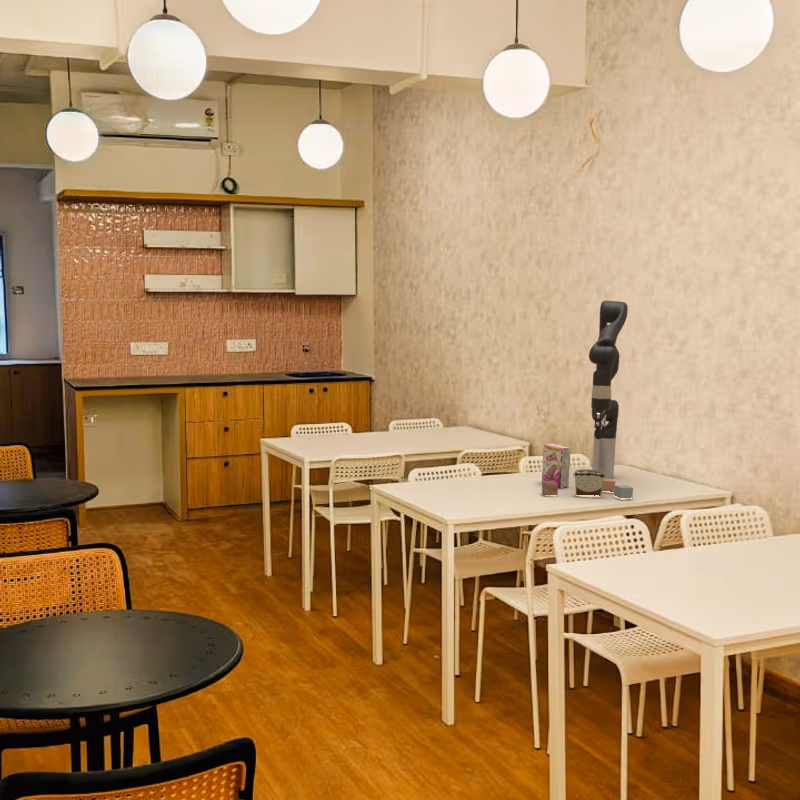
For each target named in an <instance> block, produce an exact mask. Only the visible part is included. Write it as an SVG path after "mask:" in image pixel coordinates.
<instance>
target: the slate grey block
mask: <svg viewBox="0 0 800 800" xmlns="http://www.w3.org/2000/svg"><path fill="white" fill-rule="evenodd" d="M633 493H634V487H632V486H630V485H628V484H617V485H616V484H615V491H614V495H615V496H617V497H619V498H631V497H632V498H633V496H634V495H633ZM614 495H613V496H614Z"/></svg>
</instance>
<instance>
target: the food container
mask: <svg viewBox="0 0 800 800" xmlns="http://www.w3.org/2000/svg"><path fill="white" fill-rule="evenodd" d="M572 476H573V477H574V480H575V484H574V485H575V487H574V488H575V496H576V495H594V496H595V495H599V496H601V497H602V493H601V492H602V486H603V480H604V478H605V473H604V472H602V471H598V470H592V469H590V468H588V469H585V468H584V469H583V468H582V469H576V470H575V471H574V472H573V475H572Z"/></svg>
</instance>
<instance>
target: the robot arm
mask: <svg viewBox="0 0 800 800" xmlns="http://www.w3.org/2000/svg"><path fill="white" fill-rule="evenodd" d="M599 309H600V310H599V324H598V325H599V331H598V333H599V334H598V337H597V338H598V339H597V340H596V342H595V343H594V344H593V345H592V346H591V348H590V350H589V352H588V353H589V354H588V359H589V361H590V363H592V364H593V365H594V364H595V365H596V366H595V368H596V369H595V371H593V373H592V374H593V375H592V389H591V400H590V401H591V403H590V406H591V417H592V420H593V421H594V426H593V427H594V429H595V430H594V432H593V444H592V446H593V447H592V461H591V462H592V464H591V470H598V471H602V472H604V473H605V478H606V479H614V476H615V475H614V474H615V472H614V471H615V459H616V443H617V442H616V441H617V440H616V439H617V432H618V431H617V429H618V419H619V409H620V408H619V407H620V405H619V402H618V401H617V400H616V399H612V381H613V379H614V378H615V376H616V375H617V373H618V372H619V369H620V368H619V365H620V353H619V350H618V347H617V346H616V343H617V339H618V336H619V335H620V333H621V331H622V329H623V327H624V325H625V323H626V320H627V318H628V313H629V311H628V309H629V308H628V304H627V303H626V302H625V301H617V300H615V301H614V300H603V301H601V303H600V307H599ZM606 422H607V424H606Z"/></svg>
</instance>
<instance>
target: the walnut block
mask: <svg viewBox="0 0 800 800" xmlns="http://www.w3.org/2000/svg"><path fill="white" fill-rule="evenodd" d="M541 484H542V485H541V494H542V493H543V494H544V495H557V496H558V489H559V488H558V484H557V483H556V482H552V481H543V483H542V482H541ZM543 494H542V495H543ZM544 495H543V496H544Z"/></svg>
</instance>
